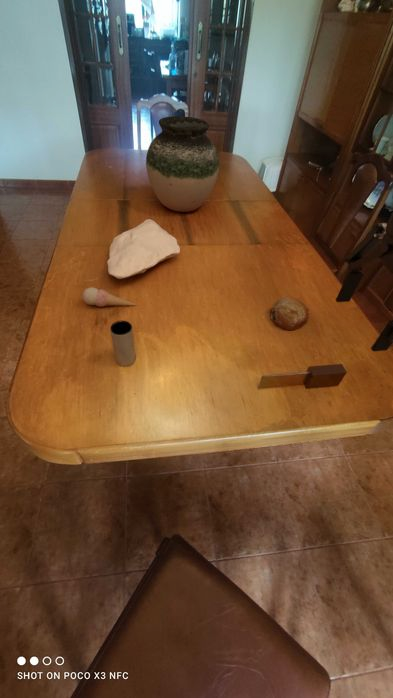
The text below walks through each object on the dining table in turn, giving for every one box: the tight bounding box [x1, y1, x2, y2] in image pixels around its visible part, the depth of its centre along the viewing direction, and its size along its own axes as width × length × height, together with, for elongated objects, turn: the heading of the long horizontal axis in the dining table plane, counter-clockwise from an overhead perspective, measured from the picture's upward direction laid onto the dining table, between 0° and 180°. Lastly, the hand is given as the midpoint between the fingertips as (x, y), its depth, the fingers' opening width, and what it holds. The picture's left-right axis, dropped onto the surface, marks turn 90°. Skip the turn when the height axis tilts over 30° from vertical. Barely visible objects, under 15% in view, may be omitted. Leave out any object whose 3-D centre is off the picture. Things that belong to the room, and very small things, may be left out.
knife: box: [257, 363, 348, 390], centre depth 71 cm, size 19×2×5 cm, turn 99°
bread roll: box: [270, 296, 310, 331], centre depth 87 cm, size 10×10×8 cm
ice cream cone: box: [82, 287, 139, 308], centre depth 86 cm, size 5×5×15 cm
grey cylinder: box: [109, 320, 137, 367], centre depth 71 cm, size 4×4×10 cm
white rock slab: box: [107, 218, 181, 280], centre depth 101 cm, size 24×35×9 cm
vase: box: [145, 115, 220, 213], centre depth 124 cm, size 28×28×30 cm
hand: (359, 323), depth 60 cm, fingers open, 13 cm apart
